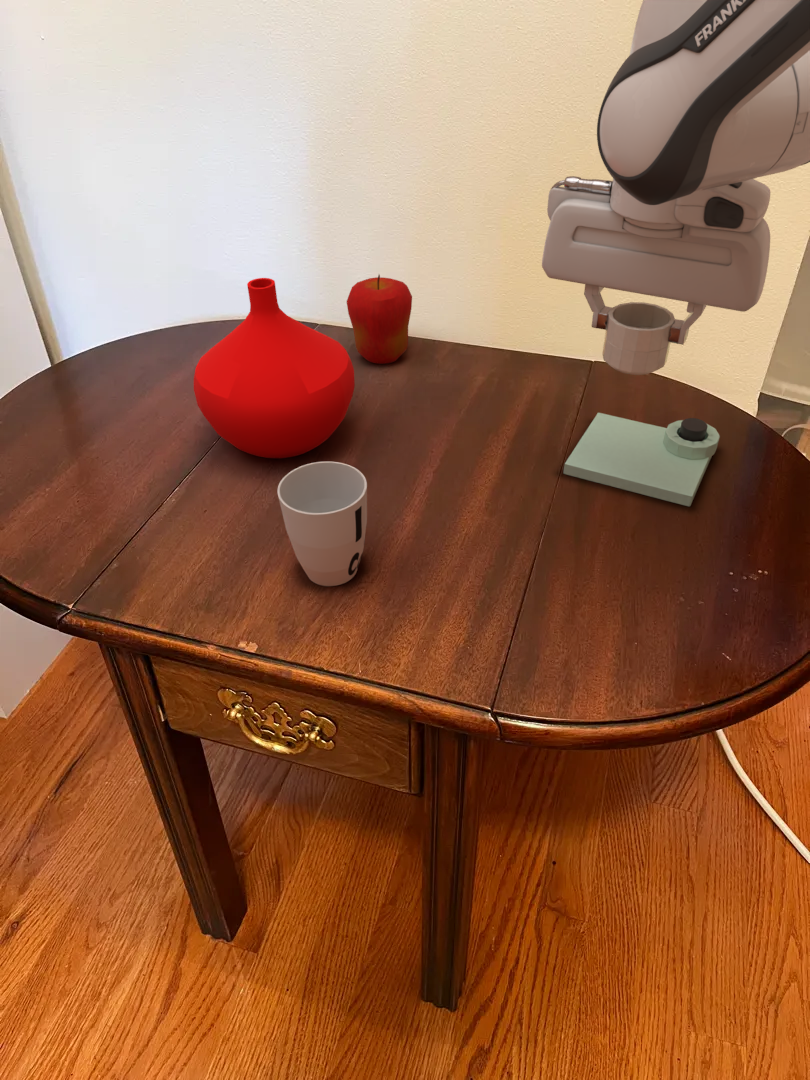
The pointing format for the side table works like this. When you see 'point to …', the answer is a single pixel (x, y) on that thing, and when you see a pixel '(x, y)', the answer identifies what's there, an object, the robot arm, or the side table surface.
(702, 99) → the robot arm
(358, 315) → the apple
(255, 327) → the vase
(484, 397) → the side table surface
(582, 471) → the scale
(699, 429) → the tare button
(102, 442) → the side table surface
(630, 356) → the bowl
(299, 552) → the cup
